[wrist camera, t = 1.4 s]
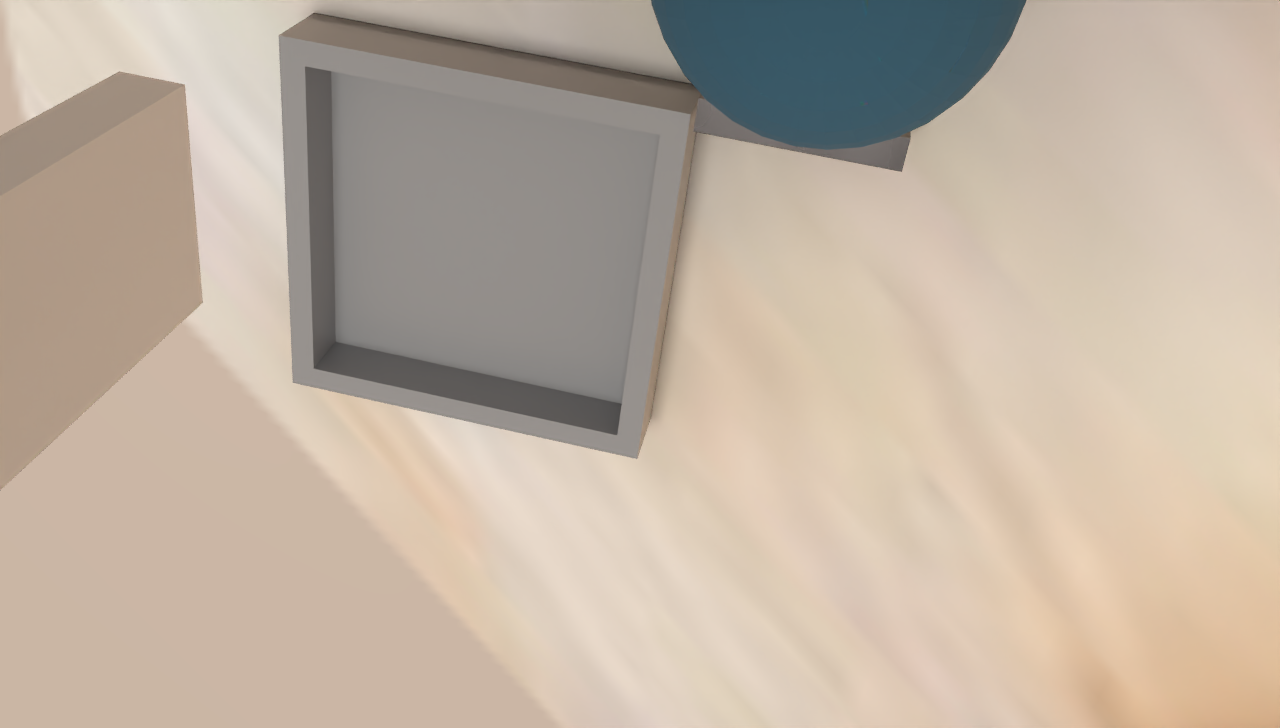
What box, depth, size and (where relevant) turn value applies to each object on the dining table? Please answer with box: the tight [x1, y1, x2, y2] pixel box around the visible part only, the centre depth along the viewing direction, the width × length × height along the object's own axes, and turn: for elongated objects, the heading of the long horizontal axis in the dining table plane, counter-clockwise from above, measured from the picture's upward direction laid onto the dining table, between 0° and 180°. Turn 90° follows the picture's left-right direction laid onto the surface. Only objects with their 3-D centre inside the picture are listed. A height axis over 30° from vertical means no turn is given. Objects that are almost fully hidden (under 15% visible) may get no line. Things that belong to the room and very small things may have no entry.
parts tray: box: [279, 13, 701, 459], centre depth 39 cm, size 13×13×2 cm
